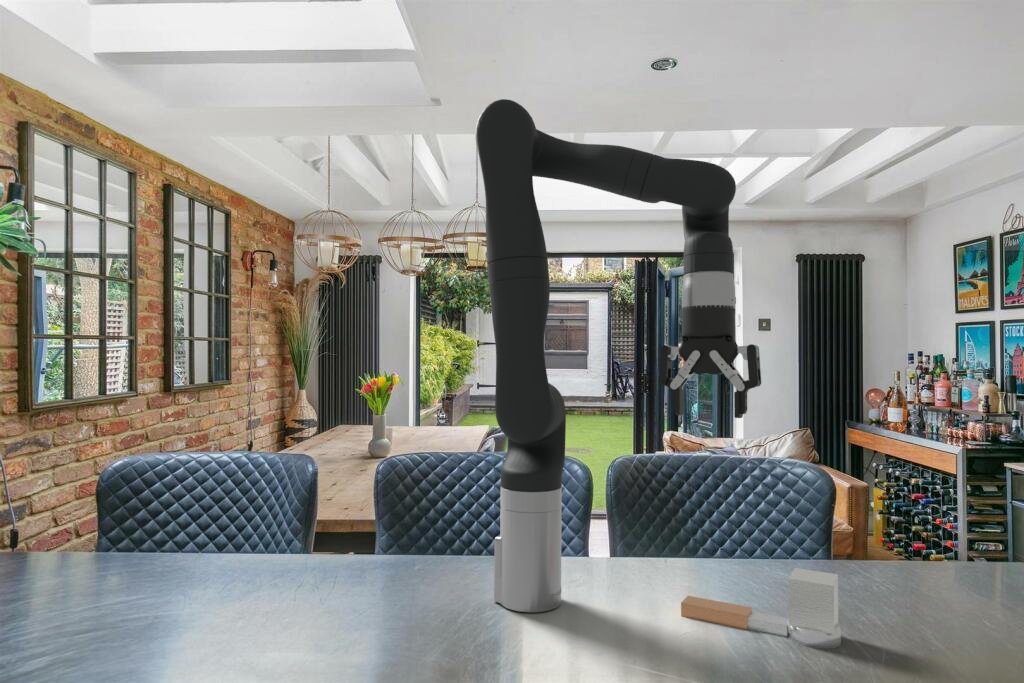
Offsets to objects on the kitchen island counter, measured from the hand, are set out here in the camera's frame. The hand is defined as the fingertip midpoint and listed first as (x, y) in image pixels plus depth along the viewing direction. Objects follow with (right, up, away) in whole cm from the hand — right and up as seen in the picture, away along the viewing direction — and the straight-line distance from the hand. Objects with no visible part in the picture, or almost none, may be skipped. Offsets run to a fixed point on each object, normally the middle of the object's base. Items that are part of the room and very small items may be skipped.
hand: (708, 416), depth 96 cm
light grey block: (+11, -26, -10) cm, 30 cm away
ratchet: (+5, -28, -6) cm, 29 cm away
